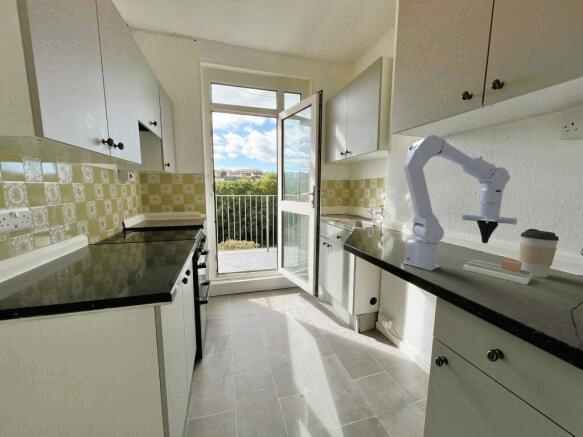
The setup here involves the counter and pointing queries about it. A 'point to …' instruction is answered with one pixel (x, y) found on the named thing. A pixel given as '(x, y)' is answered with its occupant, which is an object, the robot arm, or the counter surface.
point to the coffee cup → (537, 251)
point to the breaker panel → (497, 271)
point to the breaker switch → (512, 265)
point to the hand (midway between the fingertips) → (484, 242)
